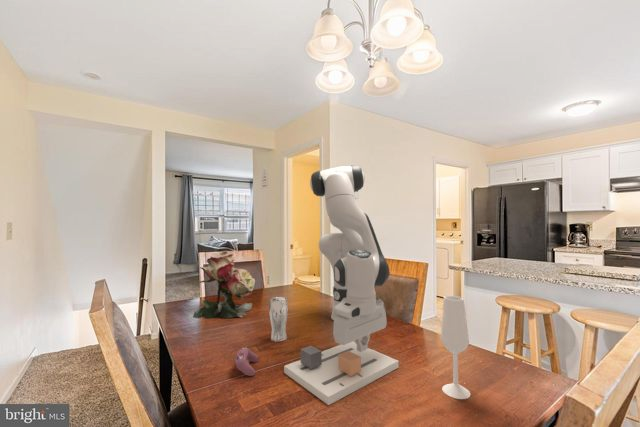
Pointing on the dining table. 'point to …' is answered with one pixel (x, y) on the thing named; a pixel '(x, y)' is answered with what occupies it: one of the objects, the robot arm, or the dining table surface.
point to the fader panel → (340, 372)
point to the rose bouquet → (226, 288)
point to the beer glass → (278, 318)
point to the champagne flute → (454, 340)
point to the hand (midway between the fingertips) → (362, 350)
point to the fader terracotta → (349, 363)
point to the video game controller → (246, 361)
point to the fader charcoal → (311, 357)
